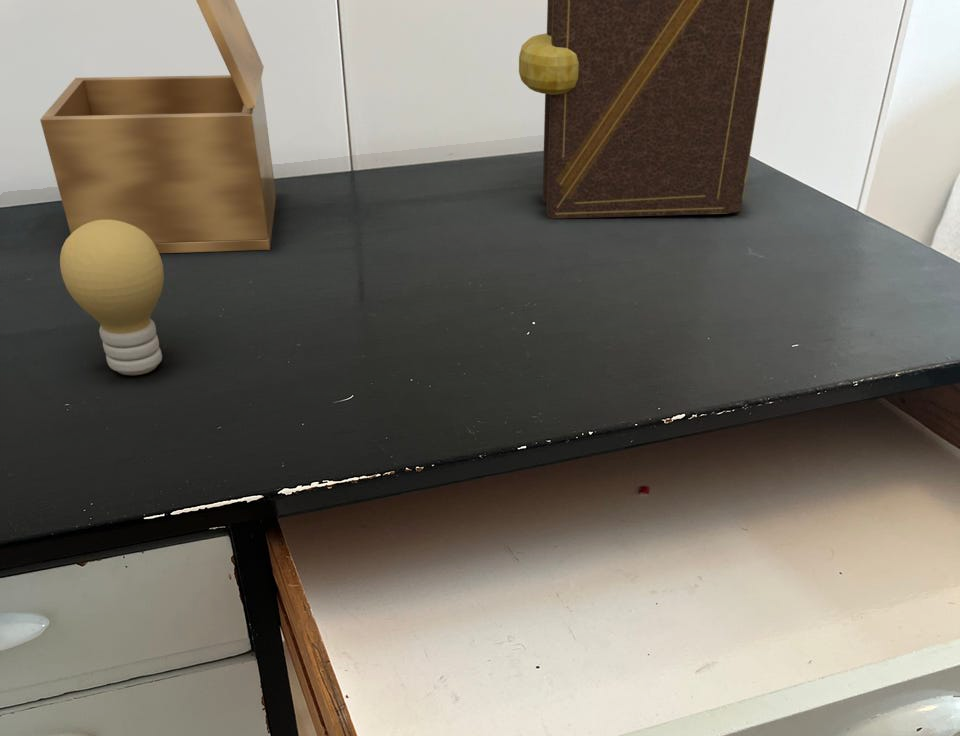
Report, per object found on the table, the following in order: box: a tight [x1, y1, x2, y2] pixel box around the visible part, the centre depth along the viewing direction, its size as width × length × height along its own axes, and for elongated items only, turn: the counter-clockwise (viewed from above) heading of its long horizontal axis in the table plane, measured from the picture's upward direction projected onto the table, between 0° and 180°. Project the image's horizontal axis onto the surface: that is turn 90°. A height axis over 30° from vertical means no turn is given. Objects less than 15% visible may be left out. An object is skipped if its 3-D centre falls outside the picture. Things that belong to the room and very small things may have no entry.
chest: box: [40, 74, 277, 254], centre depth 87 cm, size 17×15×11 cm
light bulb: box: [59, 220, 165, 376], centre depth 65 cm, size 6×6×10 cm
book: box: [518, 0, 776, 220], centre depth 87 cm, size 22×8×25 cm, turn 92°
